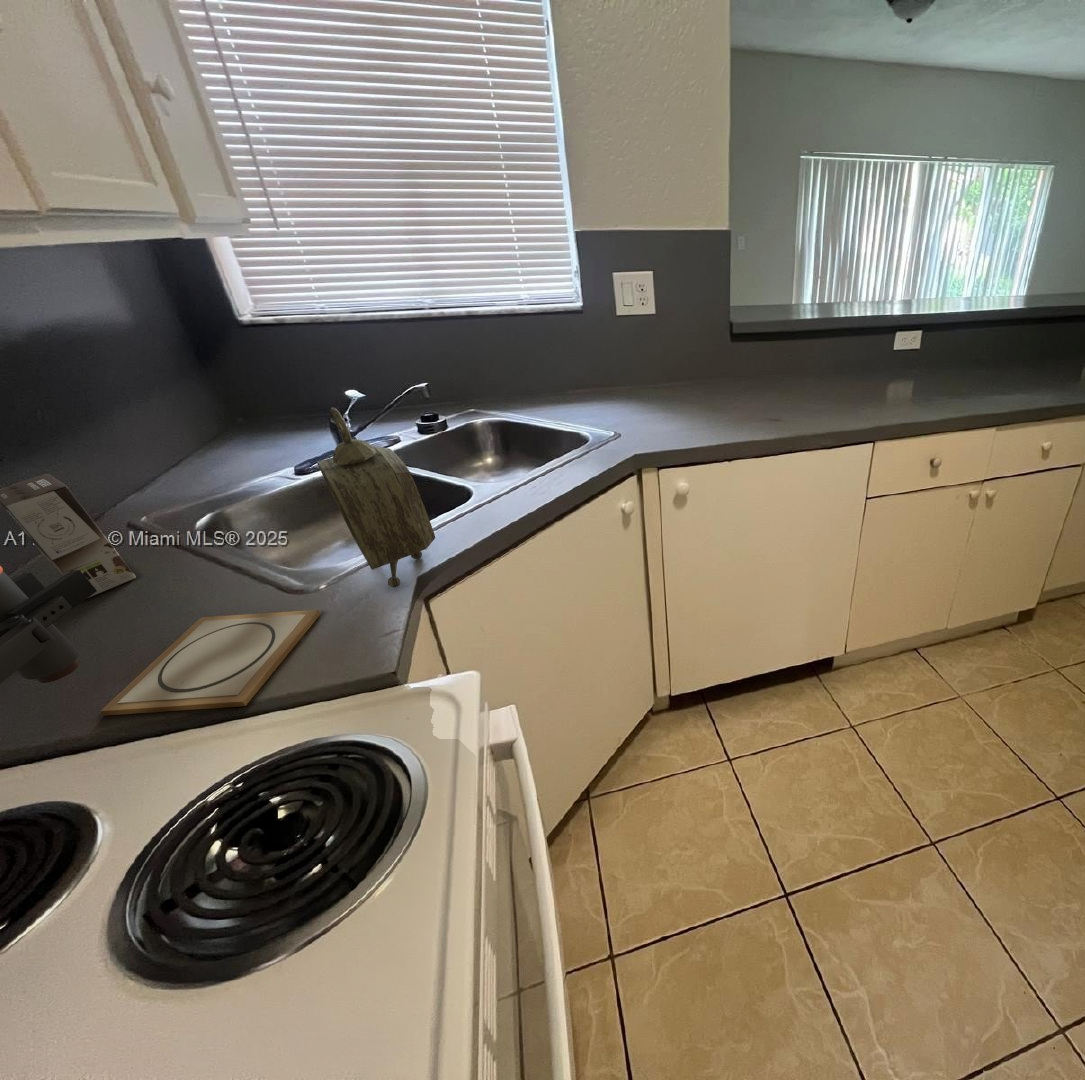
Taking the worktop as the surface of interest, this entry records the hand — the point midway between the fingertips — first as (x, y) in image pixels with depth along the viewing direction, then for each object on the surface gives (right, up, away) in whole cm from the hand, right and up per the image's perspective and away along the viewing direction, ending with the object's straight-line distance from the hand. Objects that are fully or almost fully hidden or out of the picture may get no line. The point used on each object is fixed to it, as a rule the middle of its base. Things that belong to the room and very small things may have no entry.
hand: (60, 582), depth 56 cm
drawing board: (+3, -11, +15) cm, 19 cm away
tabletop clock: (+17, 0, +31) cm, 35 cm away
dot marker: (+1, -9, -1) cm, 9 cm away
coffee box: (-29, -2, +31) cm, 43 cm away
